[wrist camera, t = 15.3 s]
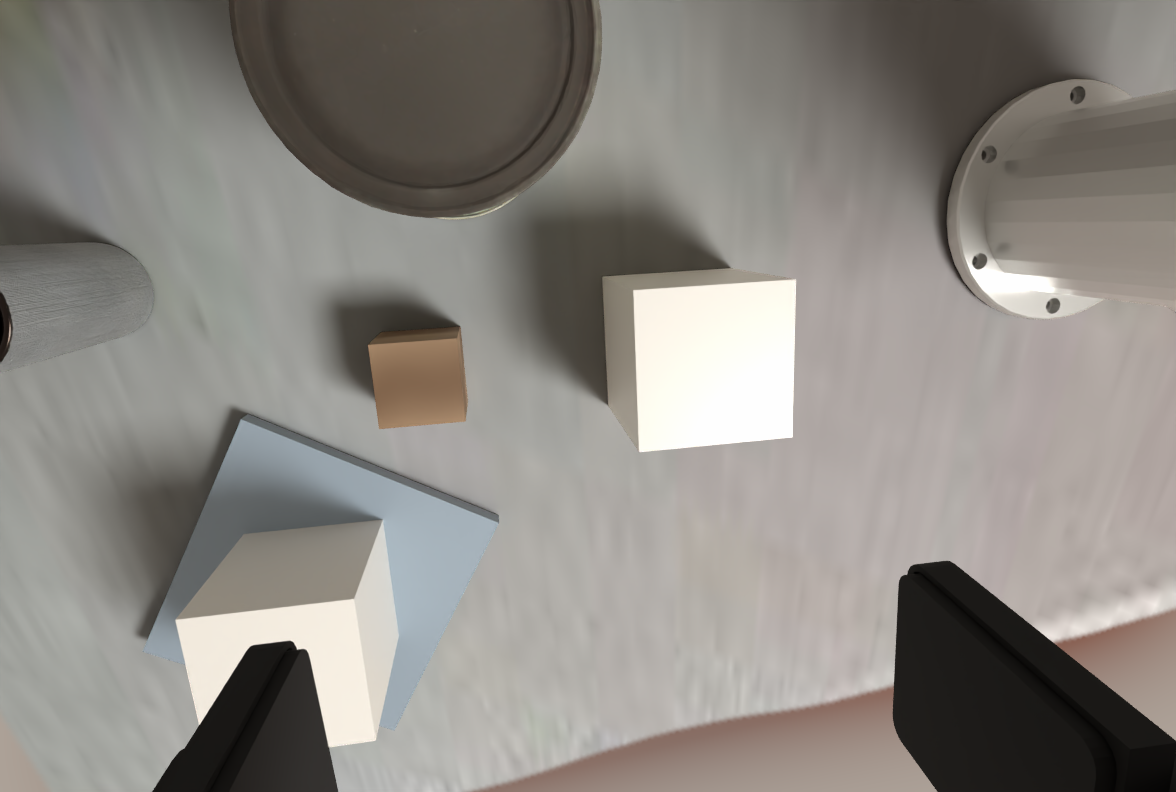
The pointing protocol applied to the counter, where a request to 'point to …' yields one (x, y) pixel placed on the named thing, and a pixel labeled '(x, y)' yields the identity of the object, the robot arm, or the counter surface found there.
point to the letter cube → (418, 377)
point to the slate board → (327, 497)
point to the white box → (301, 619)
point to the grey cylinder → (67, 299)
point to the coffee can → (422, 93)
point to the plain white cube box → (700, 356)
